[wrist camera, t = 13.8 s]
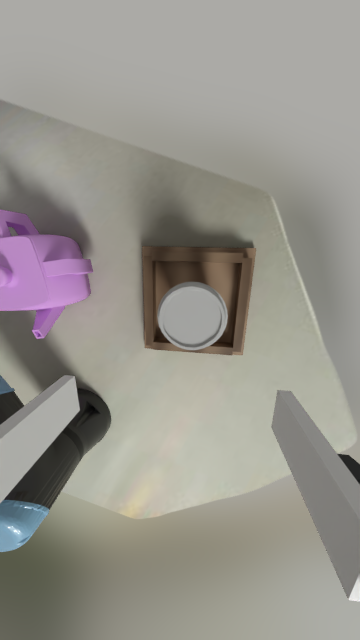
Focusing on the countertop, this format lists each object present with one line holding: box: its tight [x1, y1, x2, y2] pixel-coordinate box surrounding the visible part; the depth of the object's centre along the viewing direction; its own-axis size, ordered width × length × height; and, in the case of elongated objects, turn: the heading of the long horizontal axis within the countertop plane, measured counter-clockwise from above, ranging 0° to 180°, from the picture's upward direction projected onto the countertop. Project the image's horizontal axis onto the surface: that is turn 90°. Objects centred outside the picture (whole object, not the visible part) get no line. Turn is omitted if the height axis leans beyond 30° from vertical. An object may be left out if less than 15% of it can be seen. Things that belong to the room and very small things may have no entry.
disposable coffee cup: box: [158, 282, 228, 350], centre depth 30 cm, size 10×10×12 cm
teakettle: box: [0, 210, 93, 339], centre depth 33 cm, size 17×17×12 cm
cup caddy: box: [142, 246, 256, 355], centre depth 35 cm, size 20×20×4 cm
